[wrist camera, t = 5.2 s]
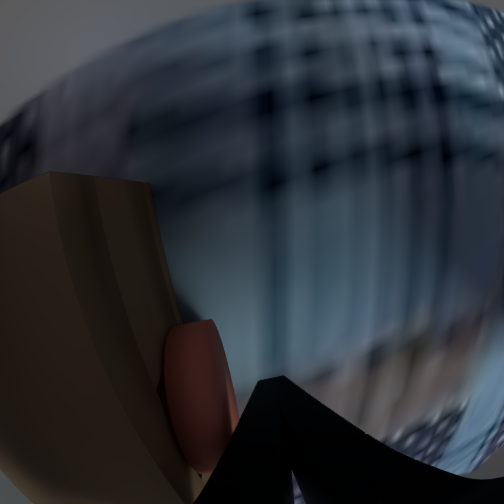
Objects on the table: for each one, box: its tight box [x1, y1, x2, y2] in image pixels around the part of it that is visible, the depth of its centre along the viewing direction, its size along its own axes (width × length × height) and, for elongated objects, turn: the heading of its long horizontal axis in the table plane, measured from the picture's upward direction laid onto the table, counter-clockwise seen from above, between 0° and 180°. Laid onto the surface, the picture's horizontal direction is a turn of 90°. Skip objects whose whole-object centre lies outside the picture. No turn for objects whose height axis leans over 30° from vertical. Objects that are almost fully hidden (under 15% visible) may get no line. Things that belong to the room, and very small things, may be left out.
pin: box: [156, 319, 239, 474], centre depth 7 cm, size 10×4×4 cm, turn 100°
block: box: [0, 172, 211, 504], centre depth 7 cm, size 6×12×6 cm, turn 10°
